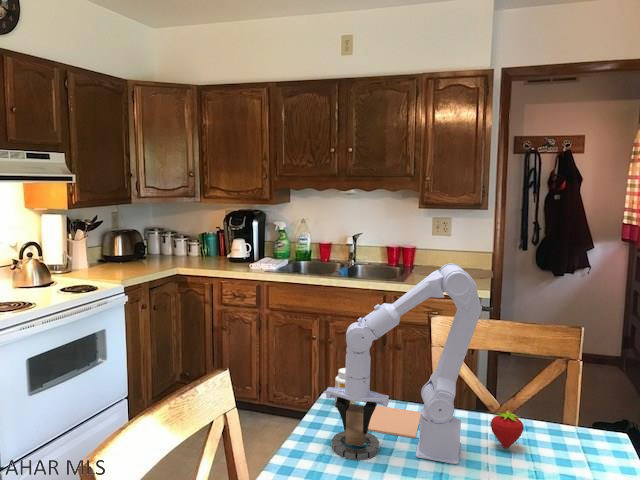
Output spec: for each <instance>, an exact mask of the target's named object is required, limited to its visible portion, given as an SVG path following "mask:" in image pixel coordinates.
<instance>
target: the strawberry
mask: <svg viewBox="0 0 640 480" xmlns="http://www.w3.org/2000/svg"><path fill="white" fill-rule="evenodd" d="M496 414H497V415H495V416H494V417H493V418H492V419H491V420H490V421H491V422H490V429H491V432H492V433H493V435H494V437H495V439H497V441H498V442H499V443H500V445H501V446H502V447H503V448H504V449H509V448H510V447H511V446H512V445H513V444H514V443H516V442H517V440H518V439H520V437H521V436H522V434H523V432H524V423H523V421H521V416H517V415H516V414H514V413H512V412H511V408H510V406H509V405H508V410H507V411H505V413H504V412H503V413H500V412H496Z"/></svg>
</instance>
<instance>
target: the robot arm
mask: <svg viewBox="0 0 640 480" xmlns="http://www.w3.org/2000/svg"><path fill="white" fill-rule="evenodd" d="M444 293H445V294H446V295H448V296H449V298H450V299H451V300H452V302H453V303H454V305H455V307H456V312H455V314H454V317H453V320H452V323H451V326H450V329H449V332H448V334H447V337H446V340H445V342H444V345H443V348H442V351H441V354H440V357H439V360H438V362H437V366H436V369H435V371H433V373H432V374H431V375H430V378H428V379H429V380H428V381H426V383H425V384H423V386H422V388H421V390H420V391H421V392H420V395H421V399H422V401H423V403H424V405H423V407H422V409H421V410H420V412H421V415H420V422H419V438H418V439H419V440H418V443H417V447H416V451H415V457H416V458H419V459H424V460H430V461H437V462H442V463H446V464H453V465H459V461H460V459H459V458H460V452H461V451H462V443H461V427H462V419H461V418H457V417H455V416H454V413H455V405H454V401H455V398H456V393H457V392H456V389H457V388H456V385H457V384H456V383H457V380H458V377H459V375H460V372H461V370H462V366H463V364H464V361H465V358H466V355H467V353H468V350H469V347H470V344H471V342H472V339H473V336H474V334H475V331H476V328H477V325H478V322H479V319H480V317H481V314H482V308H483V307H482V304H481V300H480V297H479V292H478V285H477V283H476V282H475V281H474V279H473V278H472V276H471V275H470V274H469V273H468V272H467V271H465V270H464V269H463V268H462V267H461V265H459V264H457V263H447V264H444V265H442V267H440V268H439V269H436V270H435V271H433V272H431V273H430V274H429V275H427V276H426V277H425V278H424V279H422V280H421V281H420V282H418V283H417V284H416V285H415V286H413V287H412V288H410V289H409V290H408V291H407V292H406V293H404V294H403V295H401V296H400V297H399V298H398V299H397V300H395V301H394V302H393V303H387V302H384V303H382V304H381V305H380V304H378V303H377V304H376V305H374V307H373V308H374V310H373V311H371V312H369V313H368V314H367V315H365V316H364V317H359V318H358V319H357V321H356V322H352V323H351V324H350V325H349V326H348V327H347V330H346V331H345V335H346V336H345V342H346V350H345V351H346V354H345V368H346V370H345V388H335V387H330V386H328V387H327V388H326V390H325V392H326V394H325V398H326V399H332V398H333V399H335V398H337V402H336V405H335V407H336V410H337V411H338V413H339V416H340V418H341V421H342V425H343V431H346V411H347V409H348V407H349V405H350V400H351V401H355V403H356V402H359V403H365V404H364V405H363V406H364V408H363V410H364V428H363V433H364V434H367V432H368V433H369V431H368V427H369V422H370V419H371V416H372V414H373V412H374V410H375V408H376V406H383V407H388V406H389V399H390V398H389V397H390V396H389V395H387V394H383V393H379V392H376V391H372V390H370V386H371V385H370V384H371V355H370V349H371V347H372V344H373V341H376V340H378V339H380V338H381V337H382V336H384V335H385V334H386V333H388V332H389V331H391V330H393V328H395V327H396V326H399V324H400V320H401V316H403V315H405V314H406V313H407V312H409V311H411V310H412V309H414V308H415V307H417V306H418V305H420V304H421V303H423V302H425V301H426V300H428V299H429V298H442V299H444V298H445V295H444Z"/></svg>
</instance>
